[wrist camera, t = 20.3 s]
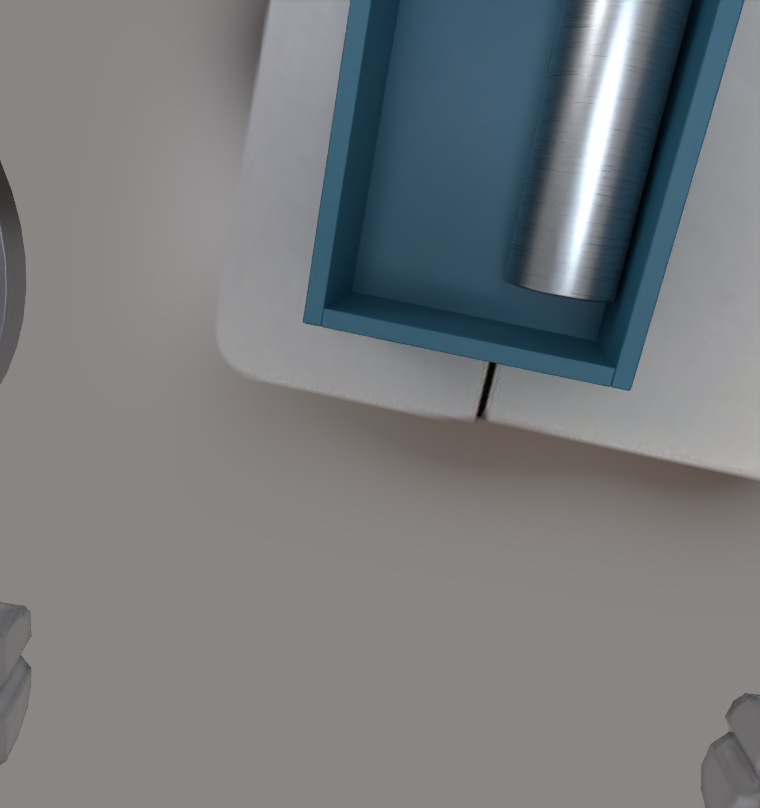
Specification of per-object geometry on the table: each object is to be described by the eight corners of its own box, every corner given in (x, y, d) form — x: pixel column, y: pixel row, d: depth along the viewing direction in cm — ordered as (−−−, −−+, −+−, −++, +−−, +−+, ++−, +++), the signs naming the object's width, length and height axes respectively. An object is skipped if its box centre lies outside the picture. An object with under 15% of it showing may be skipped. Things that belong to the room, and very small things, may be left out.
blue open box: (336, 302, 36) (302, 323, 30) (437, -321, 29) (419, -472, 23) (606, 357, 35) (630, 391, 29) (783, -281, 28) (870, -430, 21)
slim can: (514, 276, 34) (616, 297, 33) (494, 283, 30) (611, 307, 29) (609, -164, 29) (735, -162, 28) (602, -234, 25) (751, -235, 23)
